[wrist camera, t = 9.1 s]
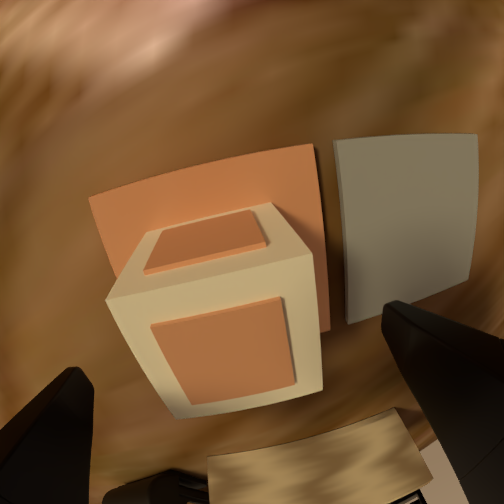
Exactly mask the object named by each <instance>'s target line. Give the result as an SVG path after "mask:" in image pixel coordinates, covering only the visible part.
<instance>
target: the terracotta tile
mask: <svg viewBox="0 0 504 504" xmlns="http://www.w3.org/2000/svg"><path fill="white" fill-rule="evenodd" d="M88 199H89V202H90V206H91V209H92V212H93V215H94V218H95V221H96V224H97V227H98V230H99V233H100V236H101V239H102V241H103V244H104V247H105V250H106V252H107V255H108V258H109V260H110V263H111V265H112V268H113V270H114V273H115V275H116V278H117V279H118V277H119V275H120V274H121V272H122V270H123V269H124V267H125V265H126V264H127V262H128V260H129V259H130V257H131V256H132V254H133V252H134V251H135V249H136V247H137V246H138V244H139V243H140V241H141V240H142V238H143V237H144V235H145V233H146V232H149V231H153V230H157V229H160V228H164V227H168V226H172V225H176V224H180V223H184V222H188V221H192V220H196V219H200V218H204V217H208V216H212V215H216V214H221V213H225V212H229V211H234V210H238V209H242V208H247V207H251V206H256V205H260V204H265V203H270V202H271V203H272V204H273V205H274V206H275V208H276V209H277V210H278V211H279V212H280V214H281V215H282V216H283V217H284V219H285V220H286V221H287V222H288V223H289V225H290V226H291V227H292V228H293V230H294V231H295V232H296V233H297V235H298V236H299V237H300V238H301V240H302V241H303V242H304V243H305V245H306V246H307V247H308V248H309V250H310V251H311V252H312V255H313V264H314V273H315V283H316V293H317V304H318V316H319V329H320V333H322V332H325V331H329V330H330V307H329V289H328V273H327V260H326V248H325V237H324V227H323V217H322V208H321V199H320V191H319V183H318V176H317V169H316V162H315V155H314V148H313V144H312V143H308V144H301V145H294V146H288V147H282V148H276V149H270V150H264V151H259V152H254V153H248V154H243V155H238V156H234V157H229V158H224V159H220V160H215V161H211V162H206V163H202V164H198V165H194V166H190V167H186V168H182V169H178V170H174V171H171V172H167V173H163V174H160V175H156V176H152V177H149V178H146V179H142V180H139V181H135V182H132V183H129V184H126V185H123V186H119V187H116V188H113V189H110V190H107V191H104V192H101V193H98V194H95V195H92V196H90V197H89V198H88Z"/></svg>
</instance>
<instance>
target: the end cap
mask: <svg viewBox="0 0 504 504" xmlns="http://www.w3.org/2000/svg"><path fill="white" fill-rule="evenodd" d="M206 486H207V482H206V480H203V479H199V478H196V477H193V476H189V475H186V474H183V473H180V472H177V471H167V472H164V473H161V474H158V475H155V476H152V477H149V478H146V479H143V480H140V481H137V482H133V483H130V484H126V485H122V486H119V487H118V488H115V489H112V490H110V491H108V492H107V493H106V494H105V496H104V498H103V501H102V504H187V502H190V503H195V504H210V500H209V493H208V492H204V491H200V490H197V489H200V488H204V487H206Z"/></svg>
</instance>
